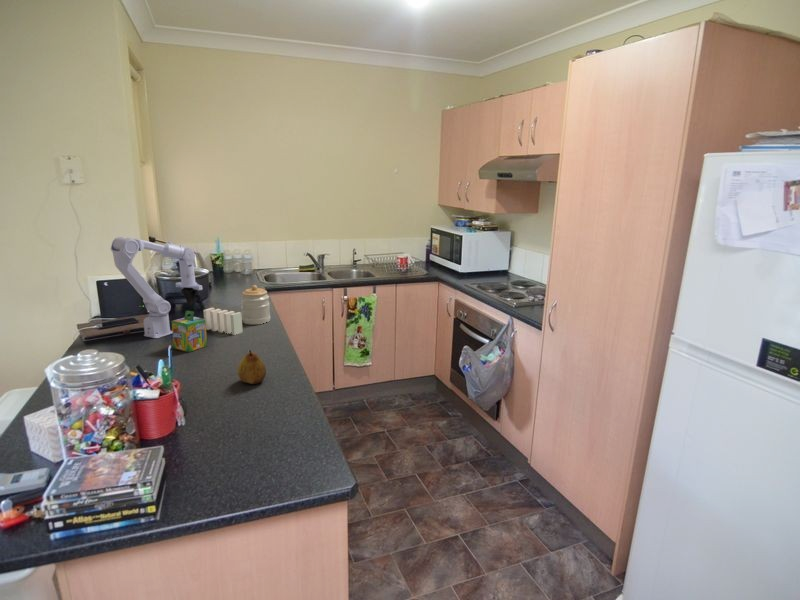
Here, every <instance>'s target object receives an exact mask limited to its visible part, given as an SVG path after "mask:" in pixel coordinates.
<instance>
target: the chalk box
mask: <svg viewBox="0 0 800 600" xmlns="http://www.w3.org/2000/svg"><path fill="white" fill-rule="evenodd" d="M188 315H190V316H188ZM194 315H195V312H194V311H191V310H186V311H185V313H184V317H182V318H177V319H174V320H171V321H170V322H171V331H172V344H173V346H172V347H173V349H175V350H179V351H182V352H186V353H191V352H193V351H197V350H200V349H203V348H205V347H208V338H207V330H206V321H205V319H204V317H203V318H202V317H197V316H194Z"/></svg>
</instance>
